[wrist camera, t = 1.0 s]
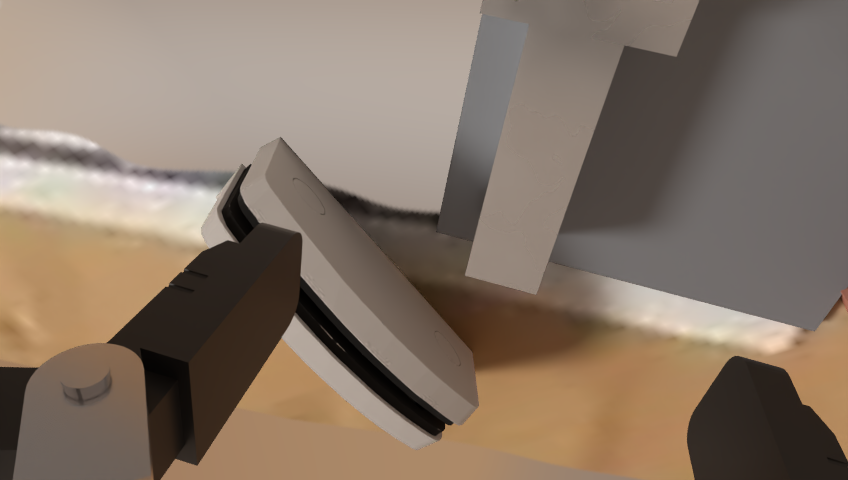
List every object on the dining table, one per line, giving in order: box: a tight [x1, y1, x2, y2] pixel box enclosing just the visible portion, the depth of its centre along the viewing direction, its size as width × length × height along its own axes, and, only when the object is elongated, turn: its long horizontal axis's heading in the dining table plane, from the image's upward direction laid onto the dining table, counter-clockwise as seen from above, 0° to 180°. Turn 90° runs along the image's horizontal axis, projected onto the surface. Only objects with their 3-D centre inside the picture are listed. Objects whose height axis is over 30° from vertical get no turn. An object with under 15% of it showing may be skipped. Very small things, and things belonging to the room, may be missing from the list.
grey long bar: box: [465, 0, 699, 295], centre depth 21 cm, size 16×6×5 cm, turn 170°
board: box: [436, 0, 848, 331], centre depth 22 cm, size 20×18×1 cm
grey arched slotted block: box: [201, 137, 479, 450], centre depth 28 cm, size 17×5×10 cm, turn 40°
